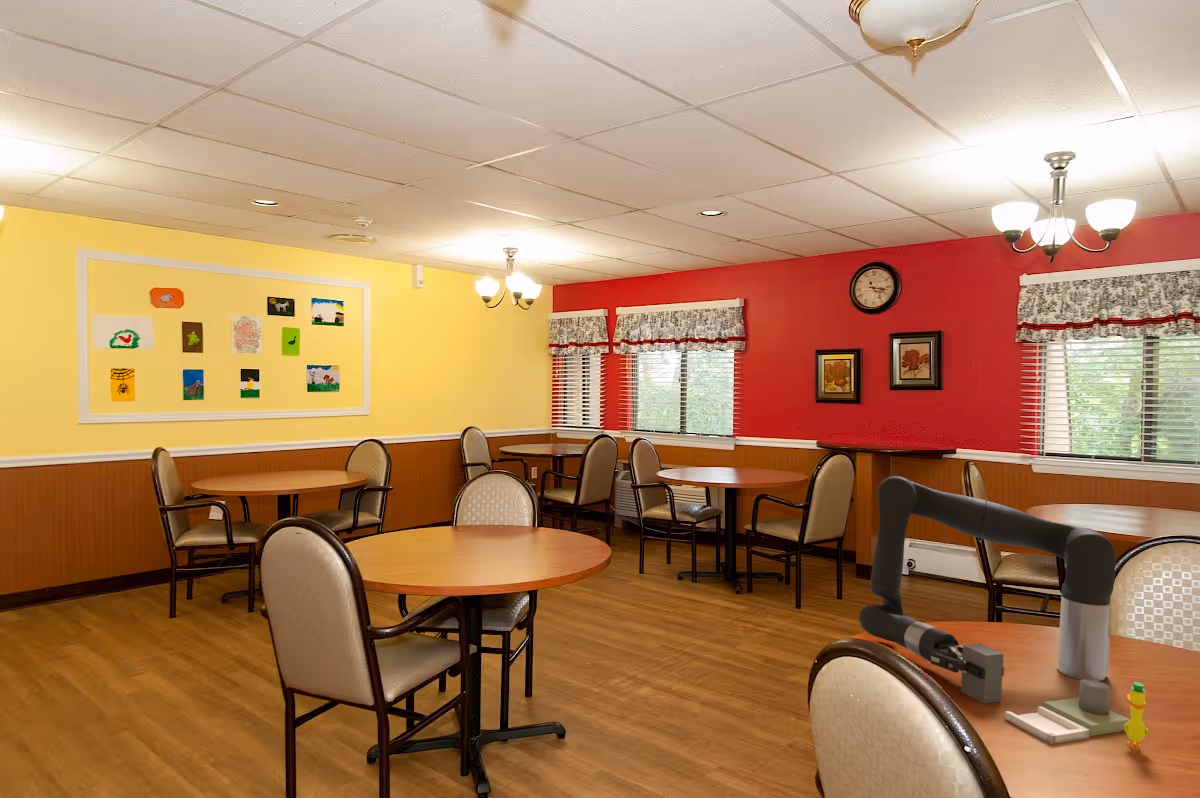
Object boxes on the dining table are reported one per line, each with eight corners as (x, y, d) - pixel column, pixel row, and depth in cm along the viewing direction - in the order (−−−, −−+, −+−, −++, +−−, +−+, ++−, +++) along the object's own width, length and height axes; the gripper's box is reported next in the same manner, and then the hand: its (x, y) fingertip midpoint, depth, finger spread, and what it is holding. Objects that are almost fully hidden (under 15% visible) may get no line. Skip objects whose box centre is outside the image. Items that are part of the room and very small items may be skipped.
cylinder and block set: (1080, 706, 149) (1082, 673, 149) (1132, 730, 139) (1134, 694, 139) (1002, 717, 142) (1004, 682, 142) (1051, 744, 132) (1053, 706, 132)
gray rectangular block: (977, 689, 155) (979, 643, 155) (1000, 701, 150) (1003, 653, 149) (960, 691, 154) (963, 645, 154) (983, 703, 148) (986, 655, 148)
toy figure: (1118, 736, 136) (1122, 673, 136) (1141, 741, 135) (1145, 677, 134) (1125, 751, 130) (1129, 686, 130) (1149, 757, 129) (1154, 690, 128)
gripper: (906, 629, 163) (967, 658, 147) (956, 624, 167) (1020, 652, 151) (904, 662, 163) (965, 694, 147) (954, 656, 168) (1018, 687, 151)
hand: (992, 673), depth 149 cm, fingers closed on gray rectangular block, 4 cm apart
